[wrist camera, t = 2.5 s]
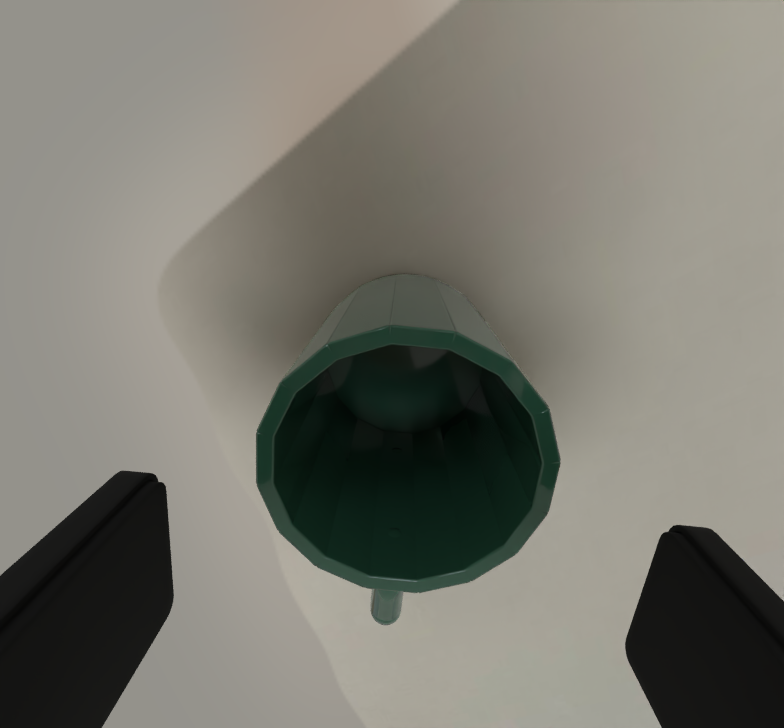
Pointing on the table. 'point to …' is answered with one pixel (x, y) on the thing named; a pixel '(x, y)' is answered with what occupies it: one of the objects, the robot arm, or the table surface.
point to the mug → (406, 444)
